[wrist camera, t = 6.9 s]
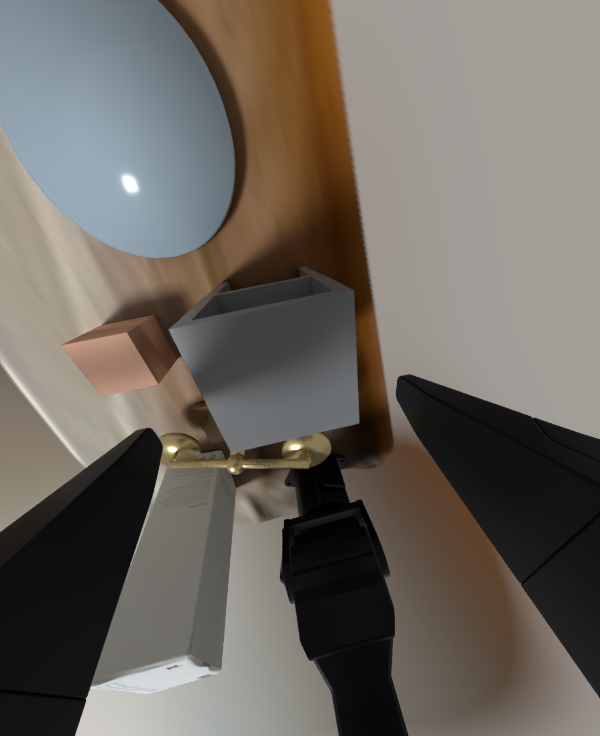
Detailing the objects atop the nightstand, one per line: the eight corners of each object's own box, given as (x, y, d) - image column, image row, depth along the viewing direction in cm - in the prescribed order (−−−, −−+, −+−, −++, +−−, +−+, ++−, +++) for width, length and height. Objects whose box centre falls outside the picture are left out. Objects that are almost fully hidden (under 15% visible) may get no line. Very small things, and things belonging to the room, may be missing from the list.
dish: (219, 279, 16) (216, 281, 15) (30, 218, 13) (14, 216, 12) (255, 69, 12) (254, 56, 11) (-25, -103, 8) (-58, -142, 8)
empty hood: (316, 343, 20) (331, 372, 16) (245, 358, 20) (240, 392, 15) (305, 266, 17) (321, 274, 12) (220, 283, 16) (204, 298, 12)
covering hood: (331, 371, 16) (359, 423, 11) (240, 392, 15) (231, 453, 11) (321, 273, 12) (354, 290, 8) (204, 297, 12) (168, 329, 7)
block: (177, 359, 19) (158, 384, 16) (131, 368, 19) (101, 396, 15) (154, 314, 17) (126, 332, 14) (102, 324, 17) (60, 345, 13)
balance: (311, 378, 22) (333, 439, 15) (317, 414, 24) (338, 480, 18) (156, 412, 21) (105, 492, 14) (178, 446, 24) (145, 527, 17)
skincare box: (170, 455, 24) (68, 690, 12) (226, 447, 25) (186, 661, 12) (193, 497, 29) (136, 703, 16) (240, 489, 29) (221, 682, 16)
